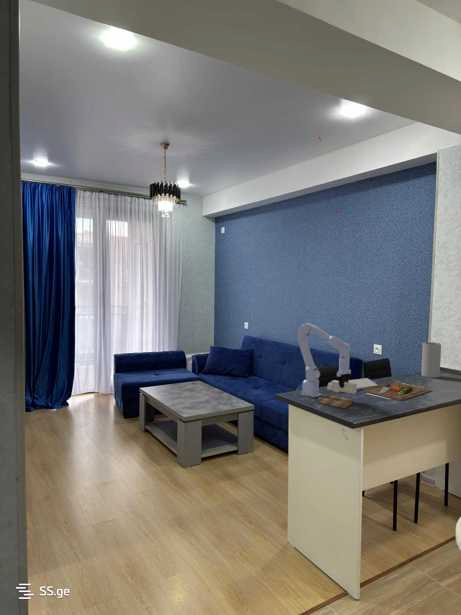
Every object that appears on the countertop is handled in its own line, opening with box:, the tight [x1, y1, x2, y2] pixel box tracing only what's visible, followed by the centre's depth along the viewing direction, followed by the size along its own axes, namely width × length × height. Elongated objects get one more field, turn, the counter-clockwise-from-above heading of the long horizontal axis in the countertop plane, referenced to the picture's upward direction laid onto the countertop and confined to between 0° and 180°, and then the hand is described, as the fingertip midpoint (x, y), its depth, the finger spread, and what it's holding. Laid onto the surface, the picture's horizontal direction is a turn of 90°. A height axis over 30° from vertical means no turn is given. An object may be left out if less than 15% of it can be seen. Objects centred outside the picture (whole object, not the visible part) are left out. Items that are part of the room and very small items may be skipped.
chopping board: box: [362, 381, 432, 401], centre depth 262 cm, size 45×27×3 cm, turn 130°
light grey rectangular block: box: [330, 379, 358, 395], centre depth 239 cm, size 14×4×5 cm, turn 49°
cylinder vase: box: [421, 341, 442, 379], centre depth 307 cm, size 12×12×25 cm
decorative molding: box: [326, 377, 379, 394], centre depth 268 cm, size 34×5×10 cm
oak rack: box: [317, 394, 352, 409], centre depth 232 cm, size 16×9×3 cm, turn 49°
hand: (343, 386), depth 240 cm, fingers closed on light grey rectangular block, 4 cm apart
